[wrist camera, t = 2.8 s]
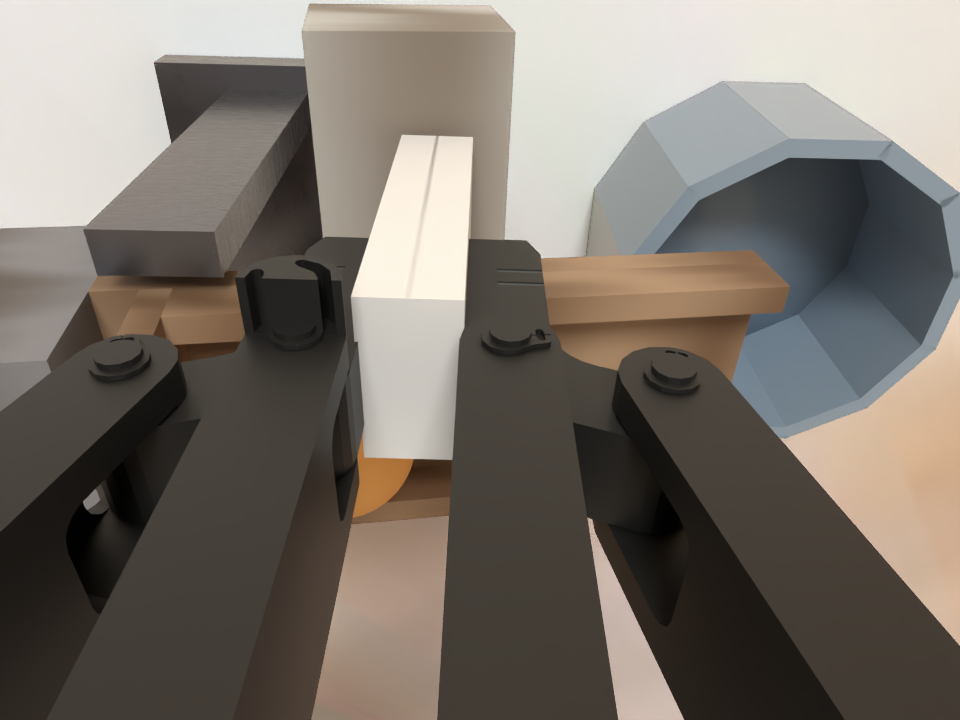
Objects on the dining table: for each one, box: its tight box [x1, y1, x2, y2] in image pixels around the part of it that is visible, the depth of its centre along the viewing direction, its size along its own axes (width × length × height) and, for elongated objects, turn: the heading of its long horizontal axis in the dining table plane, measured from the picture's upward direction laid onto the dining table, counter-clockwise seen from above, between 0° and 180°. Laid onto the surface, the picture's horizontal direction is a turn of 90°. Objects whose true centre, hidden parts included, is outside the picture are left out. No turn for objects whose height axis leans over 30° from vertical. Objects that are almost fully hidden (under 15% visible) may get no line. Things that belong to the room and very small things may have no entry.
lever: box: [0, 4, 790, 524], centre depth 19 cm, size 25×14×7 cm, turn 88°
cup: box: [586, 81, 960, 438], centre depth 29 cm, size 12×12×7 cm
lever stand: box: [83, 55, 323, 278], centre depth 25 cm, size 8×13×14 cm, turn 178°
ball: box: [353, 438, 414, 518], centre depth 19 cm, size 4×4×4 cm
